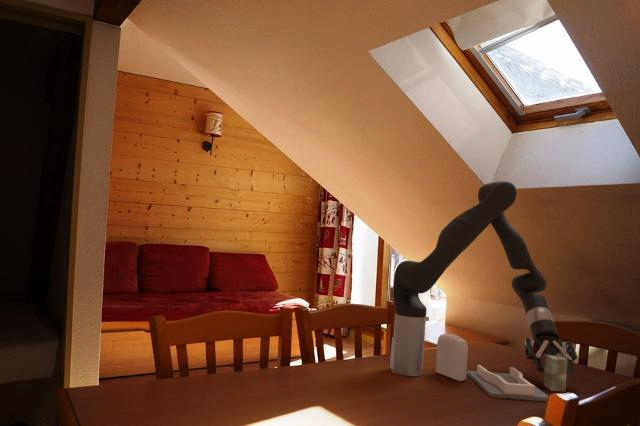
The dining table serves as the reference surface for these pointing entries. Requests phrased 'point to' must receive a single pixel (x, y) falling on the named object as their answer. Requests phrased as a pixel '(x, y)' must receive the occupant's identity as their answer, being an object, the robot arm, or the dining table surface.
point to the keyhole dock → (506, 385)
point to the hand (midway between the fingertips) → (556, 372)
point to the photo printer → (452, 356)
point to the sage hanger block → (555, 373)
